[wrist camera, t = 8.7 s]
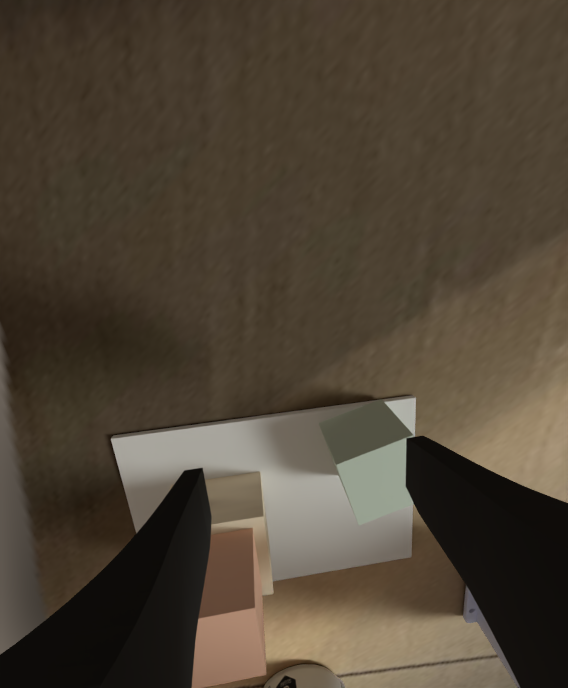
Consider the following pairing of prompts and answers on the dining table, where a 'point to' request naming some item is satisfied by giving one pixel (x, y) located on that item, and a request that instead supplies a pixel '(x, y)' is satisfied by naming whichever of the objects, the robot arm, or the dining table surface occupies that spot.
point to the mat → (273, 484)
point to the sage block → (370, 459)
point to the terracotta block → (230, 613)
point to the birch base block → (242, 515)
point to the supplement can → (305, 678)
